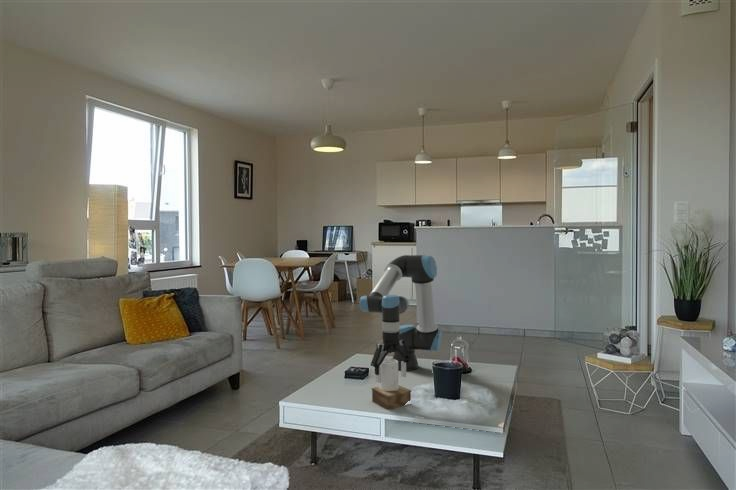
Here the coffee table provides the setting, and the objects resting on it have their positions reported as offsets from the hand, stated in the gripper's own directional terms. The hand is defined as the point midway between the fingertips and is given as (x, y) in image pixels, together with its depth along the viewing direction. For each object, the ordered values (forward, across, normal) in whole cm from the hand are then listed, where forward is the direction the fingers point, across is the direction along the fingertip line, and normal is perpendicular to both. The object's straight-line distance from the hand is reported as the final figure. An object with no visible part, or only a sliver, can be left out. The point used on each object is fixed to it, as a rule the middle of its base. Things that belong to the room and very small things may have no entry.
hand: (391, 379), depth 211 cm
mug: (+4, +1, 0) cm, 5 cm away
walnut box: (+10, 0, 0) cm, 10 cm away
